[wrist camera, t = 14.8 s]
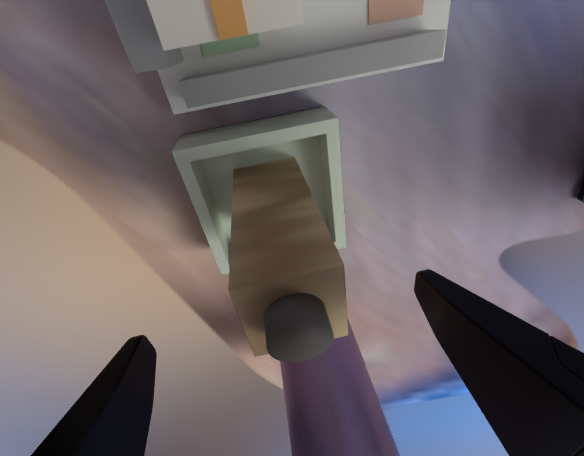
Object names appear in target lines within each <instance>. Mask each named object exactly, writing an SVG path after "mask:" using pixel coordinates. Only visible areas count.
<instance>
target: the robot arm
mask: <svg viewBox="0 0 584 456" xmlns="http://www.w3.org/2000/svg"><path fill="white" fill-rule="evenodd" d="M577 199H578V200H580V201H582V202H584V183H583V185H582V187H581V189H580V192H579V194H578V196H577ZM414 291H415V295H416V297H417V299H418V301H419V303H420V305H421V307H422V310H423V312H424V314H425V316H426V318H427V320H428V322H429V324H430V326H431V328H432V330H433V332H434V334H435V336H436V338H437V340H438V341H439V343H440V345H441V346H442V348H443V350H444V351H445V353H446V354H447V356H448V358H449V359H450V361H451V363H452V364H453V366H454V367H455V369H456V371H457V372H458V374H459V375H460V377H461V379H462V380H463V382H464V384H465V385H466V387H467V388H468V390H469V392H470V393H471V395H472V396H473V398H474V400H475V401H476V403H477V404H478V406H479V408H480V409H481V411H482V413H483V414H484V416H485V417H486V419H487V421H488V422H489V424H490V425H491V427H492V429H493V430H494V432H495V434H496V435H497V437H498V438H499V440H500V442H501V443H502V445H503V446H504V448H505V450H506V451H507V453H508V455H509V456H584V353H583V352H581V351H579V350H577V349H575V348H573V347H571V346H569V345H567V344H566V343H564V342H562V341H560V340H558V339H557V338H555V337H553V336H549V334H547V333H545V332H544V331H542V330H540V329H538V328H536V327H534V326H533V325H531V324H529V323H527V322H525V321H523V320H522V319H520V318H518V317H516V316H514V315H513V314H511V313H509V312H507V311H505V310H503V309H502V308H500V307H498V306H496V305H494V304H492V303H491V302H489V301H487V300H485V299H483V298H481V297H480V296H478V295H476V294H474V293H472V292H471V291H469V290H467V289H465V288H463V287H461V286H460V285H458V284H456V283H454V282H452V281H450V280H449V279H447V278H445V277H443V276H441V275H439V274H438V273H436V272H434V271H432V270H429V269H427V270H422V271H418V272H417V273H416V278H415V287H414ZM155 371H156V351H155V348H154V347H153V345H152V344H151V343H150V341H149V340H148V339H147V337H146V336H144V335H140V336H136V337H132V338H130V339H129V340H128V341H127V342H126V343H125V344H124V345H123V347H122V348H121V349H120V350H119V351H118V352H117V354H116V355H115V356H114V357H113V358H112V360H111V361H110V362H109V363H108V364H107V366H106V367H105V368H104V369H103V370H102V372H101V373H100V374H99V375H98V376H97V377H96V379H95V380H94V381H93V382H92V384H91V385H90V386H89V387H88V388H87V389H86V391H85V392H84V393H83V394H82V395H81V397H80V398H79V399H78V400H77V401H76V402H75V404H74V405H73V406H72V407H71V408H70V410H69V411H68V412H67V413H66V414H65V415H64V417H63V418H62V419H61V420H60V421H59V423H58V424H57V425H56V426H55V427H54V429H53V430H52V431H51V432H50V433H49V435H48V436H47V437H46V438H45V439H44V440H43V442H42V443H41V444H40V445H39V446H38V448H37V449H36V450H35V451H34V453H33V454H32V455H31V456H144V454H145V448H146V442H147V437H148V431H149V425H150V420H151V414H152V408H153V399H154V386H155Z"/></svg>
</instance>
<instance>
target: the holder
mask: <svg viewBox="0 0 584 456" xmlns="http://www.w3.org/2000/svg"><path fill="white" fill-rule="evenodd" d="M172 155H173V157H174V160H175V162H176V164H177V167H178V169H179V172H180V174H181V177H182V179H183V182H184V184H185V186H186V189H187V191H188V194H189V196H190V199H191V201H192V204H193V206H194V208H195V211H196V213H197V216H198V218H199V221H200V223H201V226H202V228H203V231H204V233H205V235H206V238H207V240H208V243H209V245H210V248H211V250H212V253H213V255H214V257H215V260H216V262H217V265H218V267H219V270H220V272H221V275H224V274H228V273H229V266H230V242H231V217H232V192H233V169H238V168H243V167H248V166H253V165H258V164H263V163H268V162H273V161H278V160H283V159H288V158H292V157H295V158H296V161H297V163H298V165H299V167H300V169H301V172H302V174H303V176H304V178H305V180H306V183H307V185H308V187H309V189H310V191H311V194H312V196H313V198H314V200H315V202H316V204H317V207H318V209H319V211H320V213H321V215H322V218H323V220H324V222H325V224H326V226H327V229H328V231H329V233H330V235H331V237H332V240H333V242H334V244H335V246H336V248H337V249H341V248H345V247H346V234H345V219H344V203H343V187H342V171H341V155H340V140H339V124H338V117H337V116H335V115H334V114H333V113H332V112H331V111H330V110H328V109H327V108H326V107H325V106H324V107H319V108H314V109H309V110H305V111H300V112H295V113H290V114H285V115H280V116H275V117H270V118H265V119H260V120H255V121H250V122H246V123H241V124H236V125H231V126H226V127H221V128H216V129H211V130H206V131H201V132H196V133H191V134H186V135H182V136H180V138H179V140H178V141H177V143H176V145H175V147H174V148H173V150H172Z"/></svg>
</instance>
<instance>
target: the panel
mask: <svg viewBox="0 0 584 456" xmlns="http://www.w3.org/2000/svg"><path fill="white" fill-rule="evenodd" d="M104 2H105V4H106V7H107V9H108V12H109V14H110V16H111V19H112V21H113V24H114V26H115V28H116V31H117V33H118V36H119V38H120V40H121V43H122V45H123V48H124V50H125V52H126V55H127V57H128V59H129V62H130V64H131V67H132V69H133V71H134V74H139V73H144V72H149V71H154V70H157V71H158V74H159V77H160V79H161V82H162V85H163V87H164V90H165V93H166V95H167V98H168V101H169V103H170V106H171V109H172V111H173V114H174V115H176V114H181V113H186V112H191V111H196V110H201V109H206V108H211V107H216V106H221V105H226V104H231V103H236V102H241V101H246V100H251V99H256V98H261V97H266V96H271V95H276V94H281V93H286V92H291V91H296V90H301V89H306V88H311V87H316V86H321V85H326V84H331V83H336V82H341V81H346V80H351V79H355V78H360V77H365V76H370V75H375V74H380V73H385V72H390V71H395V70H400V69H405V68H410V67H415V66H420V65H425V64H430V63H435V62H440V61H443V60H444V52H445V44H446V36H447V28H448V20H449V12H450V4H451V0H301V4H302V13H303V22H304V24H301V25H296V26H290V27H285V28H280V29H275V30H270V31H264V32H259V33H254V34H249V35H244V36H239V37H233V38H228V39H223V40H218V41H212V42H207V43H202V44H197V45H192V46H186V47H181V48H176V49H171V50H166V51H164V50H163V47H162V44H161V41H160V38H159V35H158V32H157V30H156V27H155V24H154V21H153V18H152V15H151V13H150V10H149V7H148V4H147V1H146V0H104Z"/></svg>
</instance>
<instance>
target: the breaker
mask: <svg viewBox="0 0 584 456" xmlns="http://www.w3.org/2000/svg"><path fill="white" fill-rule="evenodd" d="M146 1H147V4H148V7H149V10H150V13H151V15H152V18H153V21H154V24H155V27H156V30H157V32H158V35H159V38H160V41H161V44H162V47H163V50H164V51H166V50H171V49H176V48H181V47H186V46H192V45H197V44H202V43H207V42H212V41H218V40H223V39H228V38H233V37H239V36H244V35H249V34H254V33H259V32H264V31H270V30H275V29H280V28H285V27H290V26H296V25H301V24H304V22H303V13H302V4H301V0H146Z"/></svg>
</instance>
